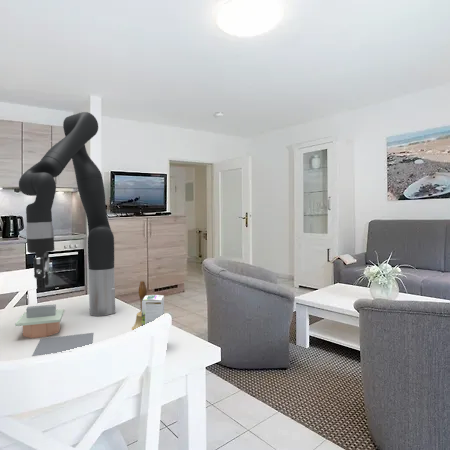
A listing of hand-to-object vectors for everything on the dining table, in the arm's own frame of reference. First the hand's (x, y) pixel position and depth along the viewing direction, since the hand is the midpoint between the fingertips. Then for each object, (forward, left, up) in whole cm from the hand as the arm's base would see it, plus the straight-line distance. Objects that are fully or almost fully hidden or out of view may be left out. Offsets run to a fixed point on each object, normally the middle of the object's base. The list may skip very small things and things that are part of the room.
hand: (43, 287), depth 108 cm
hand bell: (-30, +6, -15) cm, 34 cm away
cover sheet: (+1, -1, -10) cm, 10 cm away
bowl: (+1, -1, -15) cm, 15 cm away
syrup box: (-31, +22, -15) cm, 41 cm away
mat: (-7, +12, -15) cm, 21 cm away
